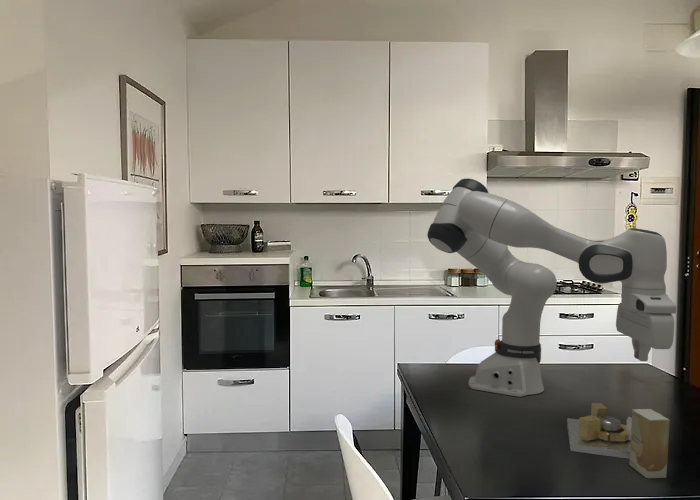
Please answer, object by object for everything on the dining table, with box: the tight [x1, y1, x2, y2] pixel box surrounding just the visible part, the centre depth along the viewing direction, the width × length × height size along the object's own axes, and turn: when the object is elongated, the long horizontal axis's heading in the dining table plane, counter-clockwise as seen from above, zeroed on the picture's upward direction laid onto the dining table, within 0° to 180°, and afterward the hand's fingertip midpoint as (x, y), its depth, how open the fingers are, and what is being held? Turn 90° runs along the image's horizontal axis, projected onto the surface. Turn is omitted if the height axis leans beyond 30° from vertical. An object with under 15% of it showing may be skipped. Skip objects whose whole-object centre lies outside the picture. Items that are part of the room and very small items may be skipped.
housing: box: [566, 415, 631, 460], centre depth 126 cm, size 17×17×5 cm
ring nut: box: [578, 402, 632, 441], centre depth 128 cm, size 14×15×4 cm
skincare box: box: [629, 408, 671, 479], centre depth 111 cm, size 6×4×12 cm
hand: (640, 359), depth 124 cm, fingers closed
